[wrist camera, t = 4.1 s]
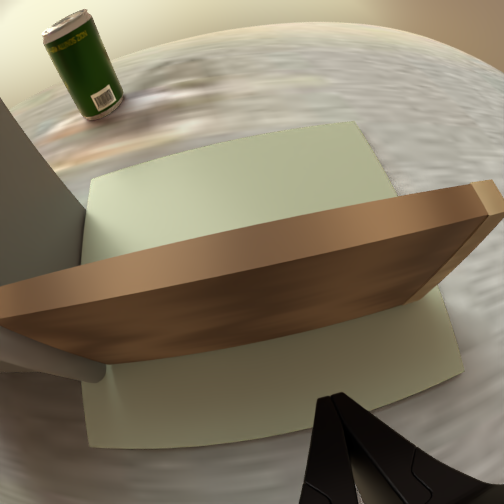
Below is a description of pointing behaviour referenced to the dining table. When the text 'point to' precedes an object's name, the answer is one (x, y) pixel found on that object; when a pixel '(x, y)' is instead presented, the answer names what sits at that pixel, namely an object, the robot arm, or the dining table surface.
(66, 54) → the beer can
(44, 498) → the dining table surface
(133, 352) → the brown wooden flat panel
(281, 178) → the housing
